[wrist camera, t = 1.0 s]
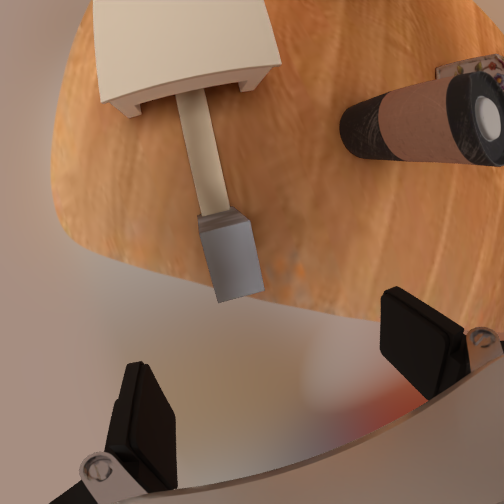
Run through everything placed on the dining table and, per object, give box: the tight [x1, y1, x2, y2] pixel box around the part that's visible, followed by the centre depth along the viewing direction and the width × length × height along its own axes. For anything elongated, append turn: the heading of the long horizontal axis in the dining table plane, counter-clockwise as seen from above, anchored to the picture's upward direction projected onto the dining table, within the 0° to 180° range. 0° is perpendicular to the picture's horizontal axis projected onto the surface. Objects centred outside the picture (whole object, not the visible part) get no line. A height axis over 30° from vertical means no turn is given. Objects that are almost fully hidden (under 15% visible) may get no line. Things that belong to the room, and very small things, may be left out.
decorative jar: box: [436, 54, 504, 92], centre depth 26 cm, size 12×12×18 cm
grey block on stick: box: [175, 88, 265, 303], centre depth 25 cm, size 4×22×10 cm, turn 12°
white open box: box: [93, 0, 282, 118], centre depth 21 cm, size 15×13×10 cm
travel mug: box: [340, 71, 504, 167], centre depth 23 cm, size 8×8×20 cm
